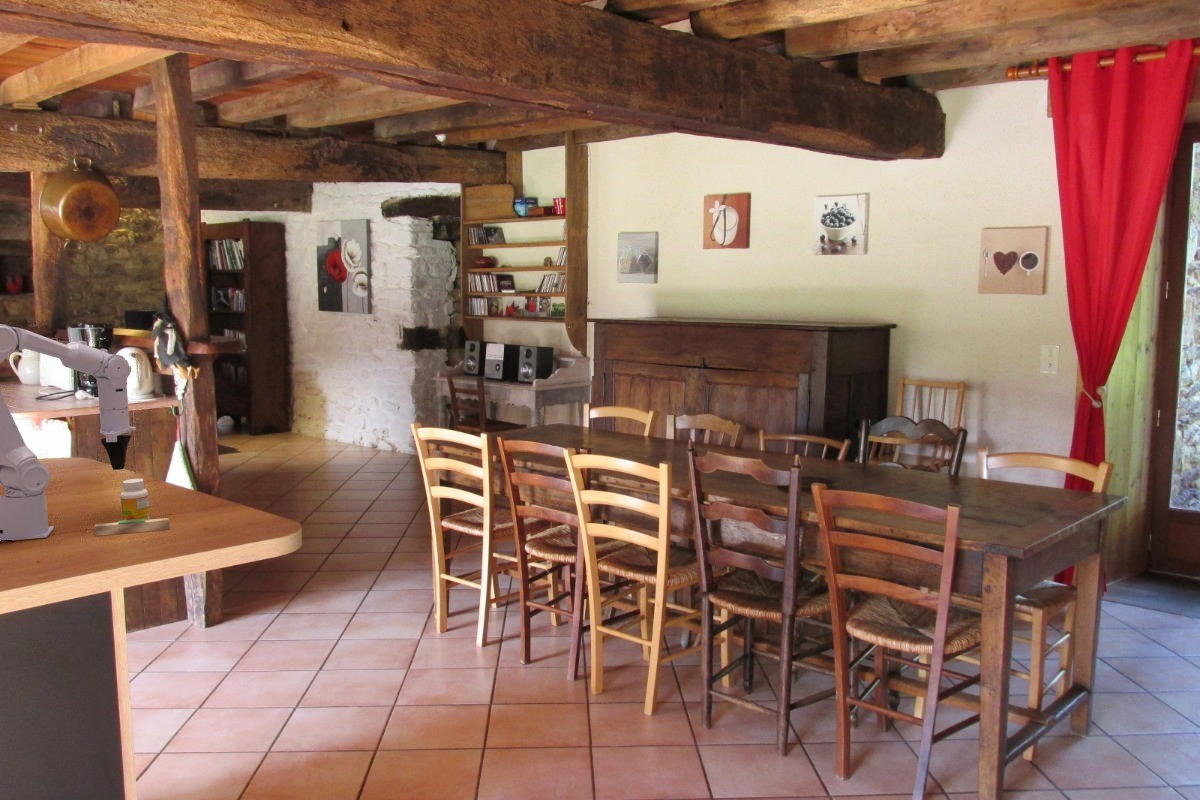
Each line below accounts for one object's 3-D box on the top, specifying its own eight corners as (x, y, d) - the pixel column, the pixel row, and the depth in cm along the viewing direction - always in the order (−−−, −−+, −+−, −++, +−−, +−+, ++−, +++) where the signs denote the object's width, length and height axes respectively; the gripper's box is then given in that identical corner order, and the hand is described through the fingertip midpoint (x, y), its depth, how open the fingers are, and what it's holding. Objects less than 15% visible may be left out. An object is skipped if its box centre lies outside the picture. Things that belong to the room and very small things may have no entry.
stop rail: (94, 536, 200) (94, 525, 200) (96, 533, 202) (95, 522, 202) (168, 529, 205) (168, 518, 205) (169, 527, 207) (169, 516, 207)
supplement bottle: (117, 526, 208) (113, 482, 207) (140, 520, 212) (136, 477, 211) (133, 529, 205) (129, 484, 204) (156, 523, 210) (152, 479, 208)
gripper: (129, 411, 209) (134, 474, 211) (137, 403, 223) (142, 461, 225) (93, 413, 207) (98, 476, 209) (103, 405, 220) (108, 464, 222)
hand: (118, 469), depth 216 cm, fingers closed
